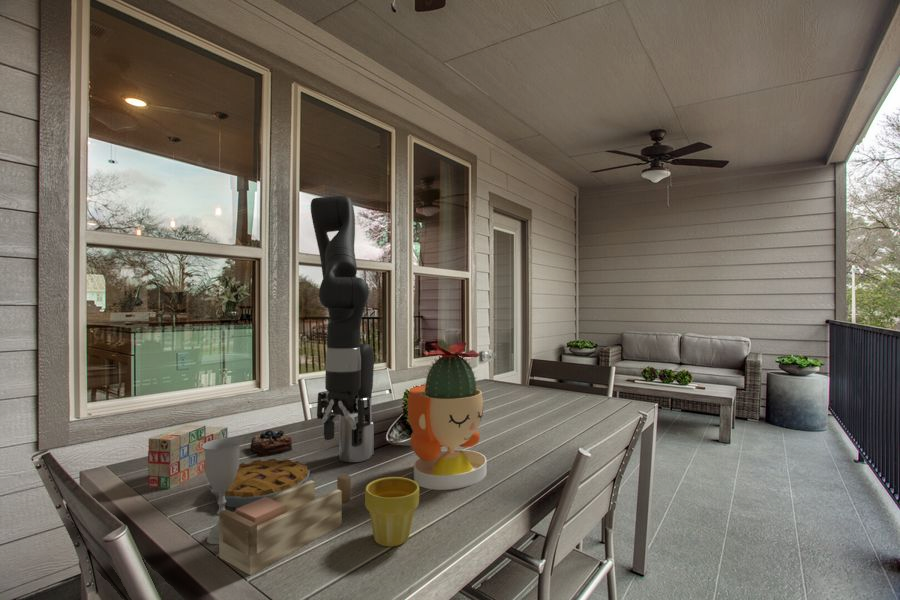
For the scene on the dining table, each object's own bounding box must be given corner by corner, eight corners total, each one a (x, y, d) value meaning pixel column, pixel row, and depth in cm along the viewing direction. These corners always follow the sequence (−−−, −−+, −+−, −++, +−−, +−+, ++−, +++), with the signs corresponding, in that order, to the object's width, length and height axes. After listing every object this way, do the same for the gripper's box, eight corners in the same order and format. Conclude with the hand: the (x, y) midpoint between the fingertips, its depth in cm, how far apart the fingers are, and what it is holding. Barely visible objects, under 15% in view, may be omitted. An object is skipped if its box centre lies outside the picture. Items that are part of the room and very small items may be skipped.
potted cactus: (501, 471, 119) (501, 341, 120) (444, 497, 103) (444, 346, 103) (443, 452, 134) (444, 336, 134) (385, 473, 118) (386, 341, 118)
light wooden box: (310, 513, 95) (311, 475, 95) (341, 525, 90) (341, 485, 90) (219, 557, 79) (219, 511, 79) (250, 575, 73) (250, 526, 74)
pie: (263, 519, 93) (263, 495, 93) (187, 503, 100) (187, 481, 100) (327, 480, 113) (327, 461, 113) (259, 469, 121) (259, 451, 121)
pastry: (258, 459, 129) (259, 439, 129) (246, 448, 138) (246, 429, 138) (296, 451, 136) (296, 431, 136) (282, 441, 145) (282, 423, 145)
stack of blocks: (208, 457, 130) (209, 415, 130) (228, 459, 129) (228, 416, 129) (147, 487, 108) (147, 437, 109) (169, 489, 107) (170, 438, 108)
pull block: (339, 494, 100) (339, 467, 100) (358, 501, 96) (358, 472, 96) (235, 543, 79) (235, 508, 79) (255, 554, 76) (255, 517, 76)
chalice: (211, 528, 89) (212, 438, 89) (247, 526, 89) (247, 437, 90) (193, 548, 82) (194, 450, 82) (232, 546, 82) (233, 449, 82)
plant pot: (420, 523, 91) (420, 475, 91) (418, 552, 80) (418, 497, 81) (369, 524, 90) (369, 476, 91) (360, 553, 80) (360, 498, 80)
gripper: (379, 368, 96) (378, 444, 96) (334, 363, 104) (333, 433, 104) (353, 372, 90) (352, 453, 90) (308, 367, 98) (307, 441, 98)
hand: (342, 442), depth 97 cm, fingers open, 8 cm apart
